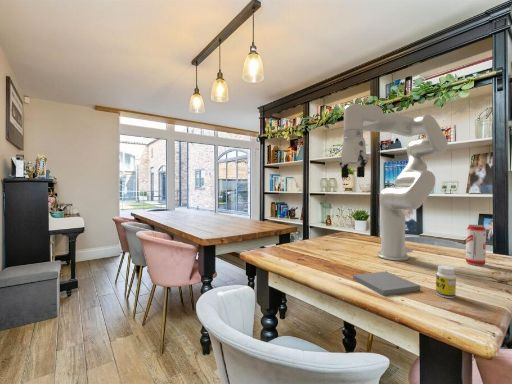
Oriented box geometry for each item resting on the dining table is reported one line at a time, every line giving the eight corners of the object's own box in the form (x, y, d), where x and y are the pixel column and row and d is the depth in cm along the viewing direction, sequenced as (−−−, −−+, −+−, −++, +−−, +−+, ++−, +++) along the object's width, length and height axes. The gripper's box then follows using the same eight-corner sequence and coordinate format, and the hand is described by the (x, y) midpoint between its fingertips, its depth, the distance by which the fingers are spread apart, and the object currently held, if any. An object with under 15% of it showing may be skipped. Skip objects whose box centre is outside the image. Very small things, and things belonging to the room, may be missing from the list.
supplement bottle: (432, 292, 82) (432, 265, 81) (446, 291, 82) (447, 264, 82) (444, 299, 77) (445, 270, 76) (459, 298, 77) (460, 269, 77)
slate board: (386, 275, 96) (386, 271, 96) (420, 290, 83) (420, 285, 83) (353, 279, 92) (353, 275, 92) (383, 295, 79) (383, 290, 79)
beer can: (482, 263, 112) (483, 225, 112) (487, 267, 106) (488, 227, 106) (463, 261, 115) (464, 224, 114) (468, 265, 109) (469, 226, 109)
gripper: (376, 132, 103) (375, 177, 103) (347, 139, 119) (346, 177, 120) (360, 131, 100) (359, 176, 101) (332, 138, 117) (332, 177, 117)
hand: (352, 177), depth 110 cm, fingers open, 9 cm apart
